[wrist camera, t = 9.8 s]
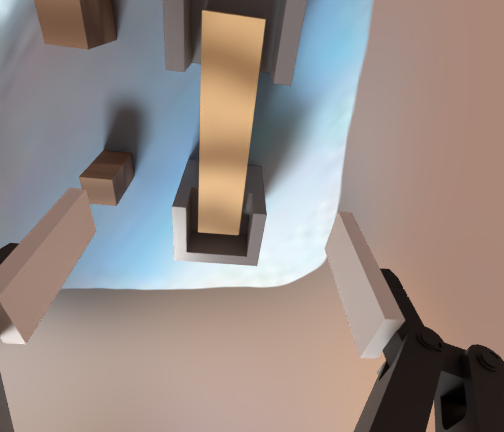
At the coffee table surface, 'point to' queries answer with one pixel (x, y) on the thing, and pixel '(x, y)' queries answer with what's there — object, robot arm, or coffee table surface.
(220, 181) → the slat
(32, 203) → the coffee table surface
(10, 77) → the coffee table surface
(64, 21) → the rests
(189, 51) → the end caps
